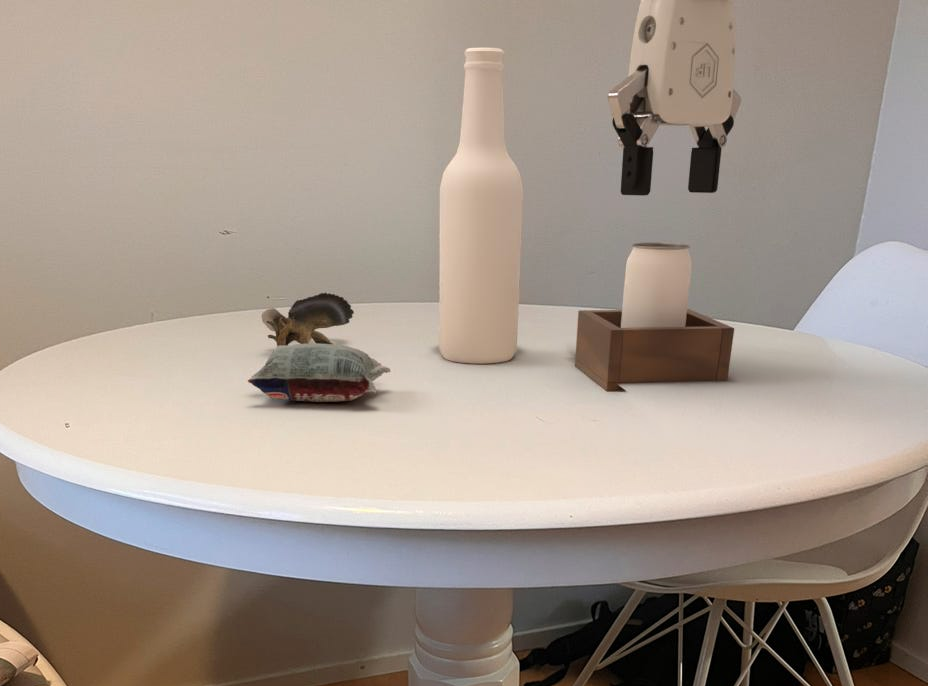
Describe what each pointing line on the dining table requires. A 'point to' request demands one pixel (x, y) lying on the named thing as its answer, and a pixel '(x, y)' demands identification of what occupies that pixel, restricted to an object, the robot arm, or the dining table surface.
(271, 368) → the packaged food
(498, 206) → the alcohol
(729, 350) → the box
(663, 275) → the can
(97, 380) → the dining table surface
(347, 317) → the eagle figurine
